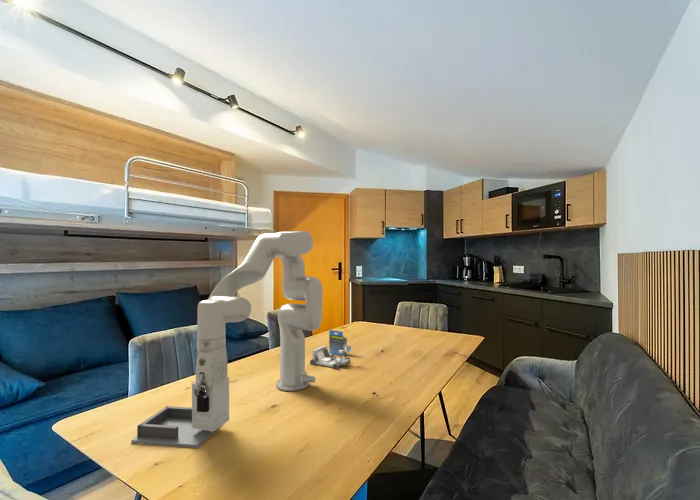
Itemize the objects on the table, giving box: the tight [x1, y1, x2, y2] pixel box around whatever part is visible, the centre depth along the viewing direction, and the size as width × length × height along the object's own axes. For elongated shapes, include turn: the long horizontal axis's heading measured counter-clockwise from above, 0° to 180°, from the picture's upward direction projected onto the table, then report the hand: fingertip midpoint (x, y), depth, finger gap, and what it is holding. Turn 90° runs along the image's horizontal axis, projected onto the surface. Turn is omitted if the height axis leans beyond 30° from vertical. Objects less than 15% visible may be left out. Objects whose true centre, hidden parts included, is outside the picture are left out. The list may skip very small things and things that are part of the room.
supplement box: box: [191, 376, 230, 432], centre depth 99 cm, size 7×7×13 cm
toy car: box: [309, 344, 353, 371], centre depth 161 cm, size 18×10×12 cm
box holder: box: [130, 405, 218, 449], centre depth 99 cm, size 19×16×4 cm
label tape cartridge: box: [328, 329, 348, 357], centre depth 178 cm, size 9×4×12 cm, turn 58°
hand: (211, 404), depth 99 cm, fingers closed on supplement box, 8 cm apart
